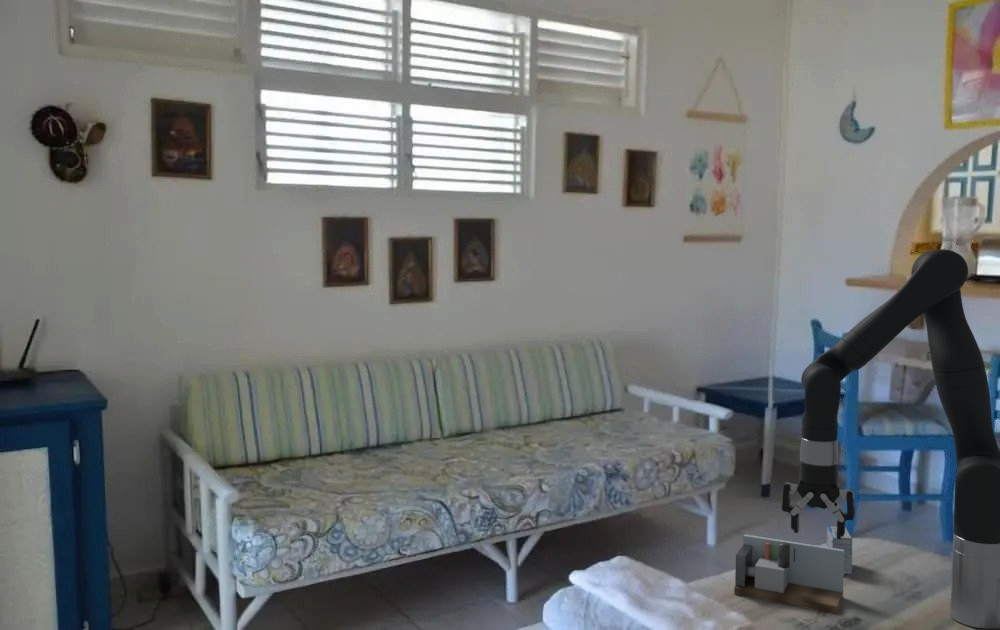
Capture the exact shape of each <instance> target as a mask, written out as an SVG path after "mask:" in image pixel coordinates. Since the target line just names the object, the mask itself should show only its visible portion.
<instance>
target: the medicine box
mask: <svg viewBox="0 0 1000 630" xmlns="http://www.w3.org/2000/svg"><path fill="white" fill-rule="evenodd" d="M826 547H829V548H836V549H842V550H844V573H845V574H844V575H850V574H851V575H852V574H853V537H852V536H851V534H850V533H849V531H848V528H847V527H845V534H844V536H843V537H842V536H841V539H837V526H827V527H826Z"/></svg>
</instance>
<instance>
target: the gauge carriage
mask: <svg viewBox="0 0 1000 630" xmlns="http://www.w3.org/2000/svg"><path fill="white" fill-rule="evenodd" d="M789 567H790V544H789V543H787V542H779V543H778V561H776V560H770V543H766V544H765V559H764V558H760V559H759V560H758V562H757V563H756V565H755V567H749V566H748V569H747V576H751V577H755V588H758V589H763V590H768V591H774V592H779V593H784V591H785V589H786V587H787V585H788V568H789Z"/></svg>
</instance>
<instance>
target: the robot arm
mask: <svg viewBox="0 0 1000 630" xmlns="http://www.w3.org/2000/svg"><path fill="white" fill-rule="evenodd" d="M910 275H911V276H910V277H909V278H908V279H907V281H906V282H905V284H904V285H902V287H901V288H900V289H899V290H898V291H897V292H896V293H895V294H894V295H892V296H891V297H890V298H888V300H887V301H886V300H885V302H883V304H882V305H880V306H879V307H877V308H876V309H875V310H873V311H872V312H871V313H869V314H867V316H865V317H864V318H863V319H862V320H860V321H859V322H858V323H857V324H856V325H854V326H853V327H852V328H851V329H850V330H849V331H848V332H847V333H846V334H844V335H843V336H842V338H840V339H839V340H838V341H837V342H836V343H835V344H834V345H833V346H832V347H831V348H829V349H828V350H826V351H825V352H824V353H822V354H821V355H819V356H818V357H817V358H815V359H814V360H813V361H812V362H811V363H809V364H808V365H807V367H806V368H804V369H803V372H802V374H801V379H800V380H801V382H800V383H801V385H802V387H803V389H804V412H803V414H802V419H801V439H800V440H801V441H800V448H799V483H798V484H795V483H792V482H791V481H786V482H785V483H784V485H783V491H782V502H781V511H782V512H787V513H788V514H790V529H791V530H793V533H795V534H798V533H799V530H800V513H799V512H800V511H801V510H802V509H804V507H805V506H806V505H807V506H809V508H819V509H823V510H825V509H827V508H828V509H829V511H830V512H831V513H832V514H833V515H834V516H835V518H836V519H837V522H836V527H837V539H841V536H842V537H843V536H844V534H845V528H846V522H847V521H853V520H854V518H855V516H856V505H855V490H854V489H853V488H849V489H840V488H839V484H838V483H839V445H838V444H839V443H838V434H839V433H838V429H839V428H838V427H839V426H838V425H839V423H838V414H839V408H840V403H841V402H840V401H841V395H842V394H841V392H842V391H841V390H842V385H841V382H842V381H843V380H844V379H845V378H846V377H848V376H849V375H850V374H851V373H852V372H853V371H858V370H861V369H862V368H863V367H865V366H866V365H867V364H868V363H869V362H870V361H872V360H873V359H874V358H875V357H876V356H877V355H878V354H879V353H880V352H882V350H883V349H885V348H886V346H888V345H889V343H891V342H892V341H893V340H894V339H895V338H896V337H897V336H898V335H899V334H900V333H901V332H902V331H903V330H905V329H906V328H907V327H908V326H909V325H910V324H911V323H913V322H914V321H915V320H917V319H918V318H919V317H920V316H922V315H923V317H924V320H925V325H926V333H927V334H926V335H927V341H928V349H929V354H930V362H931V366H932V367H931V368H932V372H933V377H934V382H935V386H936V390H937V394H938V397H939V400H940V403H941V407H942V409H943V411H944V414H945V416H946V418H947V421H948V424H949V426H950V428H951V432H952V435H953V436H952V437H953V441H954V449H955V458H956V474H955V479H954V480H955V481H954V497H953V498H954V501H953V505H954V507H953V539H952V561H951V563H952V567H951V585H950V586H951V587H950V604H949V605H950V608H949V609H950V610H949V611H950V612H949V614H950V617H951V619H953V620H954V621H956V622H958V623H959V624H963V625H966V626H969V627H972V628H976V629H977V628H978V629H987V630H988V629H999V630H1000V448H999V446H998V442H997V439H996V436H995V432H994V427H993V421H992V420H993V419H992V417H993V416H992V404H991V403H992V402H991V393H990V387H989V381H988V377H987V375H988V374H987V370H986V366H985V361H984V358H983V355H982V352H981V350H980V347H979V344H978V342H977V340H976V338H975V335H974V334H973V332H972V329H971V327H970V325H969V323H968V320H967V317H966V315H965V311H964V310H965V309H964V306H963V300H962V294H961V293H962V292H961V288H962V287H963V286H964V284H965V283H966V281H967V279H968V277H969V276H968V275H969V267H968V263H967V261H966V259H965V258H964V257H963V256H962V255H961V254H959V252H956V251H954V250H952V249H951V250H950V249H944V248H942V249H934V250H928V251H926V252H923V253H922V254H920V255H919V256H918V257H917V258H916V259H915V261H914V262H913V264H912V266H911V274H910ZM795 491H797V493H798V494H799V496H800V497H801V498H800V500H799V501H797V503H796V504H795V505H794V506H793V505H791V497H792V496H791V495H793V494H794V493H795ZM840 496H841V497H842V499H843V501H845V502H846V512H844V511H843V510H842V508H841V506H840V504H839V503H838V502H837V499H838V498H839V497H840Z"/></svg>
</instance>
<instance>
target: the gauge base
mask: <svg viewBox="0 0 1000 630" xmlns="http://www.w3.org/2000/svg"><path fill="white" fill-rule="evenodd" d="M733 589H734V590H733V592H734V593H733V595H735V596H737V595H738V596H743V597H747V598H753V599H759V600H764V601H768V602H774V603H780V604H784V605H791V606H795V607H800V608H805V607H807V608H806V609H810V608H812V610H815V609H817V611H820V612H821V611H822V612H826V611H827V613H831V612H834V613H833V614H838V613H839V609H840V607H841V604H842V602H843V601H842V600H843V599H842V598H844V591H843V592H838V591H832V590H827V589H821V588H816V587H810V586H804V585H799V584H793V583H788V585H787V587H786V589H785V591H784V593H779V592H774V591H768V590H763V589H758V588H755V577H751V578H750V580H749V582H748V583H747V585H746V586H745V588H744V587H738V586H735V585H734V588H733Z"/></svg>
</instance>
